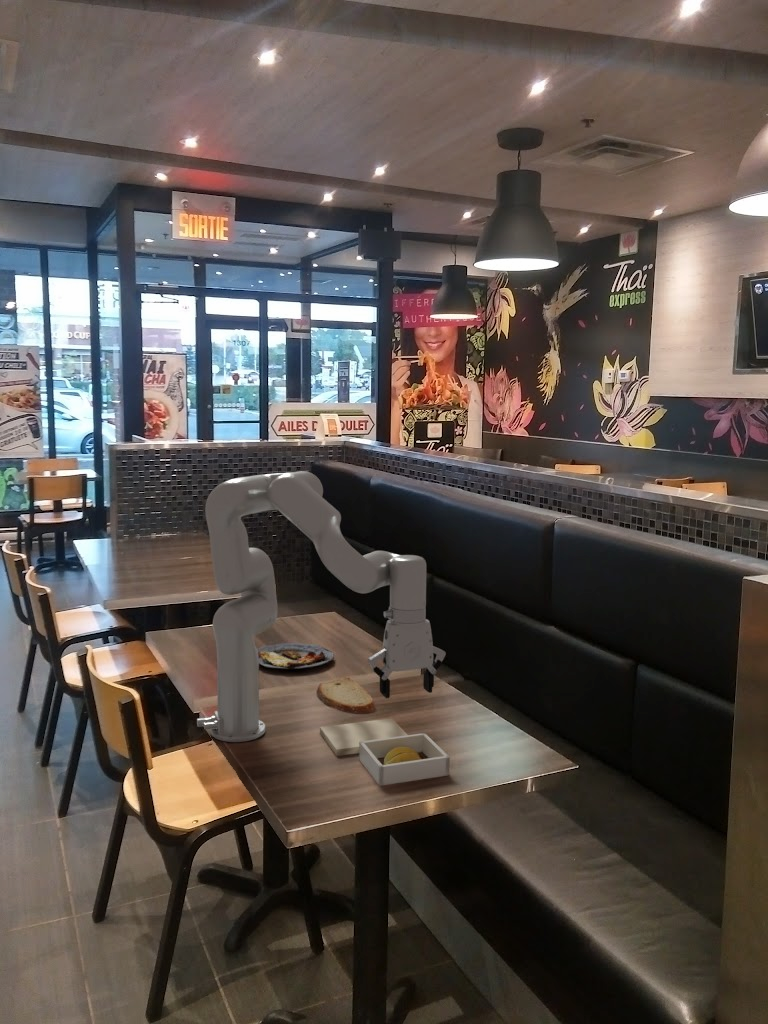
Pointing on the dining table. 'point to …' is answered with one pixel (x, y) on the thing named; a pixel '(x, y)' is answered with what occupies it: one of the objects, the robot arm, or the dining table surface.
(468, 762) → the dining table surface
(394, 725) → the birch board
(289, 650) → the food plate
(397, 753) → the bread roll
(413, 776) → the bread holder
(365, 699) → the slice of bread
